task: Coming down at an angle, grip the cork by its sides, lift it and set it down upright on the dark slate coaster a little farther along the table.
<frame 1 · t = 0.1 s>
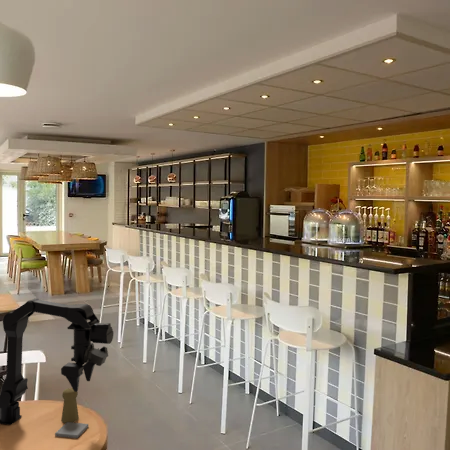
hand: (82, 386, 158), 15 cm above the table, tool pointing down, fingers open, 9 cm apart
cork: (70, 419, 165), on the table
coaster: (72, 431, 156), on the table
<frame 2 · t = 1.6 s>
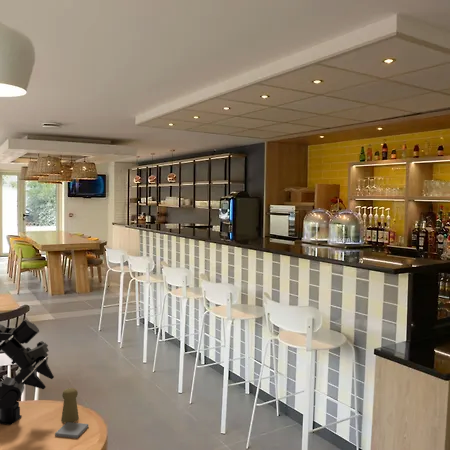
hand: (49, 383, 164), 13 cm above the table, tool tilted 45°, fingers open, 9 cm apart
nothing on the table moved.
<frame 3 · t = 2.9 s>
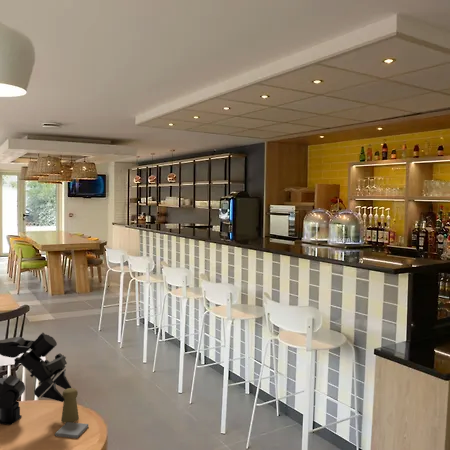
hand: (67, 395, 165), 9 cm above the table, tool tilted 45°, fingers open, 9 cm apart
nothing on the table moved.
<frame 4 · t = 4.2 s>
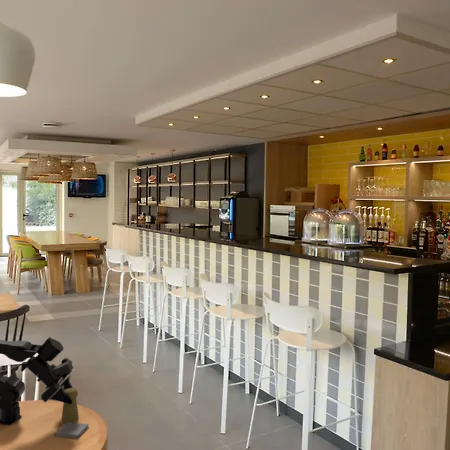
hand: (74, 399, 165), 7 cm above the table, tool tilted 45°, fingers closed on cork, 5 cm apart
cork: (70, 419, 165), on the table, touching gripper
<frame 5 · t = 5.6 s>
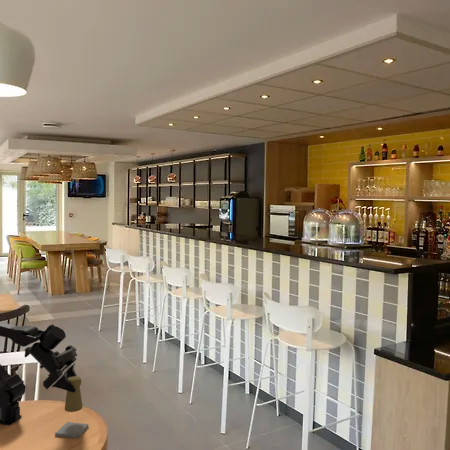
hand: (77, 388, 160), 13 cm above the table, tool tilted 45°, fingers closed on cork, 5 cm apart
cork: (73, 408, 161), point 6 cm above the table, touching gripper
when the fingers open (9 cm above the table, at t = 6.9 s): cork stays where it is, resting on coaster.
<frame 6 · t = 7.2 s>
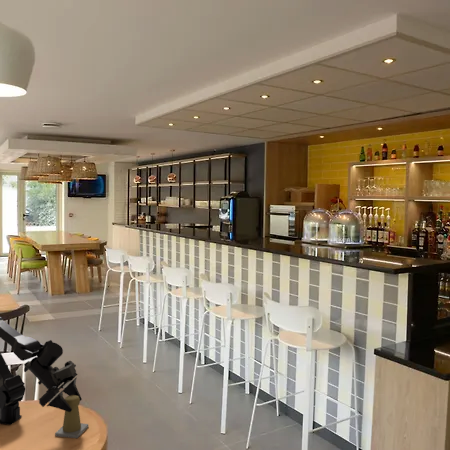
hand: (76, 405, 156), 9 cm above the table, tool tilted 45°, fingers open, 8 cm apart
cork: (71, 428, 157), point 1 cm above the table, touching coaster
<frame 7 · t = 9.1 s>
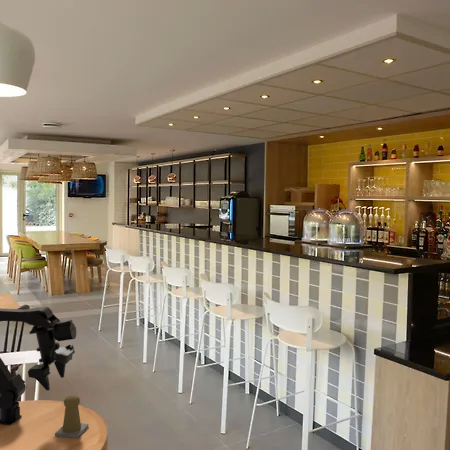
hand: (55, 383, 165), 13 cm above the table, tool pointing down, fingers open, 9 cm apart
nothing on the table moved.
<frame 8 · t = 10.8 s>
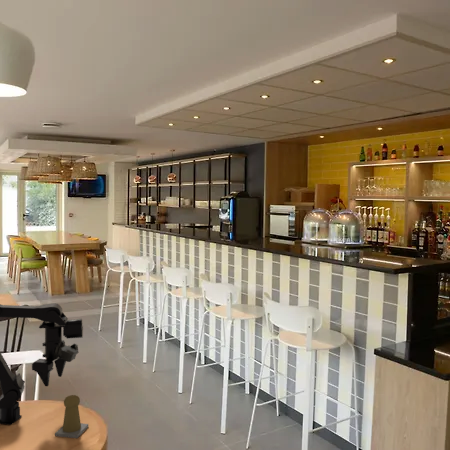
hand: (53, 381, 167), 13 cm above the table, tool pointing down, fingers open, 9 cm apart
nothing on the table moved.
at the end: cork inside the target area on the coaster (0.4 cm from its centre), point 0.8 cm above the coaster's base; cork tilted 0°; the gripper is holding nothing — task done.
